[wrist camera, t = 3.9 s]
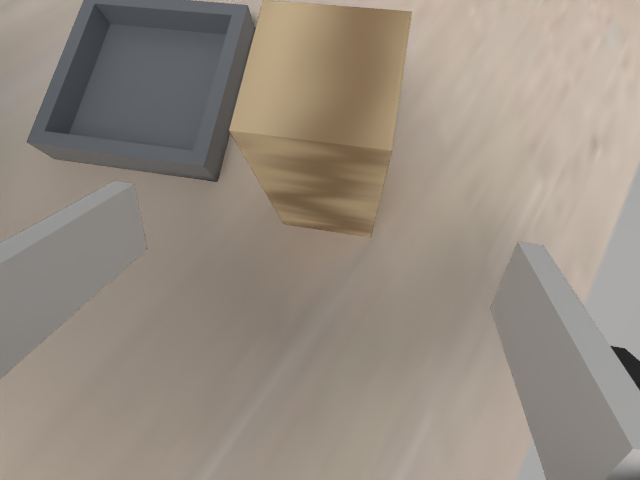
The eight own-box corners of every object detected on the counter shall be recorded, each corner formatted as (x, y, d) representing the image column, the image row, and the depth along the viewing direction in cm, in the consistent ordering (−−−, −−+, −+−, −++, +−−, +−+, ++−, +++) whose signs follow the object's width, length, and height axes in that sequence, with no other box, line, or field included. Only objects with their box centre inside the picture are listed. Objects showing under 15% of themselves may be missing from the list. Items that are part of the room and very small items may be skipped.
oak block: (283, 224, 25) (228, 130, 13) (300, 145, 26) (263, -1, 15) (370, 237, 24) (392, 150, 13) (383, 156, 26) (411, 11, 14)
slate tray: (54, 158, 28) (26, 142, 25) (107, 19, 31) (86, -8, 28) (217, 181, 26) (203, 166, 24) (256, 32, 29) (247, 5, 27)
